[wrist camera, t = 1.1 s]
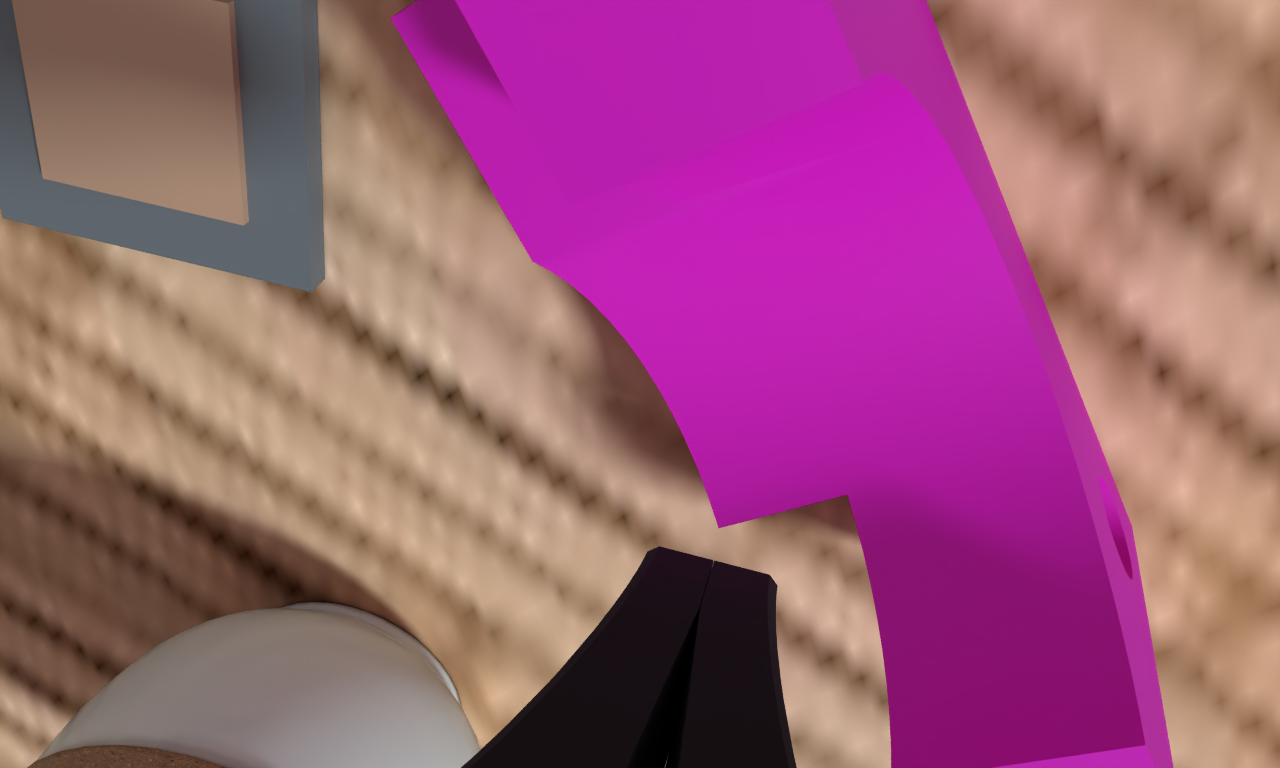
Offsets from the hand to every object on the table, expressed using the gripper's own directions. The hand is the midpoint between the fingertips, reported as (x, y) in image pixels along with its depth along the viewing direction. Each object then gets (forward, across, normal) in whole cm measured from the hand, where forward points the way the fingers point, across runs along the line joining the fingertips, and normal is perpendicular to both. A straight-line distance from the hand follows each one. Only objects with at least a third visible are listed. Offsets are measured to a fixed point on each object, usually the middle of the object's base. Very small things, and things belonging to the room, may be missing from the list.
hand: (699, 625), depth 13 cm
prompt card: (+10, +13, 0) cm, 17 cm away
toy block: (+11, -1, 0) cm, 11 cm away
